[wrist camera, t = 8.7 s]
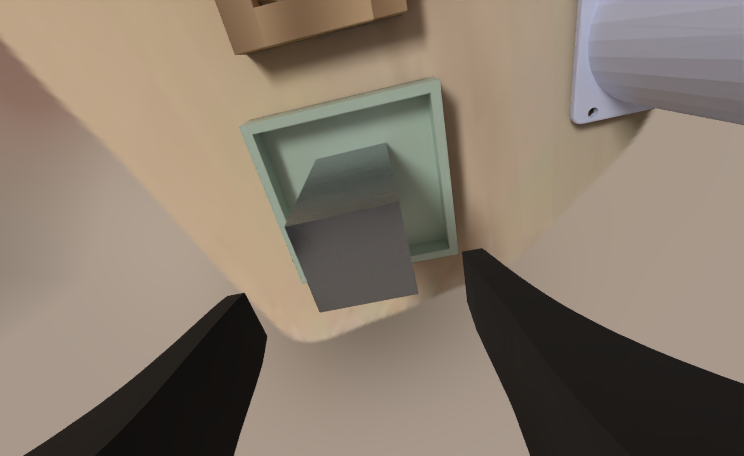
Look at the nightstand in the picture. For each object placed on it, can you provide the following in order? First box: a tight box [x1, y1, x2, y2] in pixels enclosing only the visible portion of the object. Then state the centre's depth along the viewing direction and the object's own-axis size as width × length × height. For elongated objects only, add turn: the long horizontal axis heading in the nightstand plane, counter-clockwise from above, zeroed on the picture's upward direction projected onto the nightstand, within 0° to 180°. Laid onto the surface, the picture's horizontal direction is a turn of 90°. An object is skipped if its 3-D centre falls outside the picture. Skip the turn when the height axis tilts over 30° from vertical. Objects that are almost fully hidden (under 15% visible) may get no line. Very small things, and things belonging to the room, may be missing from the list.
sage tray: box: [239, 77, 459, 284], centre depth 19 cm, size 10×10×2 cm
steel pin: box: [285, 143, 418, 312], centre depth 15 cm, size 4×4×8 cm
